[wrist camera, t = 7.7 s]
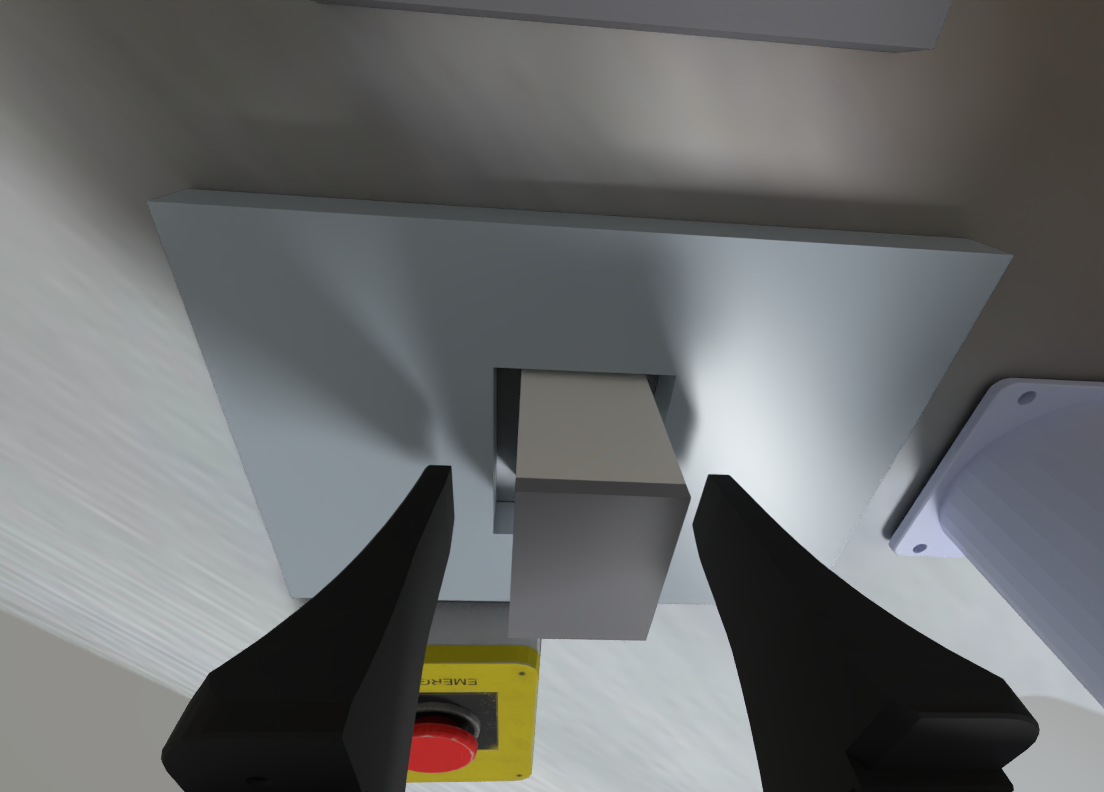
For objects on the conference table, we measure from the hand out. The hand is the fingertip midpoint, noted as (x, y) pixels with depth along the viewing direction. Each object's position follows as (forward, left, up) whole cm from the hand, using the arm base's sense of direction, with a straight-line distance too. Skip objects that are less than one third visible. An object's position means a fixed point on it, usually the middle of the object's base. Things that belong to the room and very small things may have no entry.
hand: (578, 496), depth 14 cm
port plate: (0, 0, -3) cm, 3 cm away
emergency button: (+5, +15, -4) cm, 16 cm away
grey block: (0, -1, -3) cm, 3 cm away
